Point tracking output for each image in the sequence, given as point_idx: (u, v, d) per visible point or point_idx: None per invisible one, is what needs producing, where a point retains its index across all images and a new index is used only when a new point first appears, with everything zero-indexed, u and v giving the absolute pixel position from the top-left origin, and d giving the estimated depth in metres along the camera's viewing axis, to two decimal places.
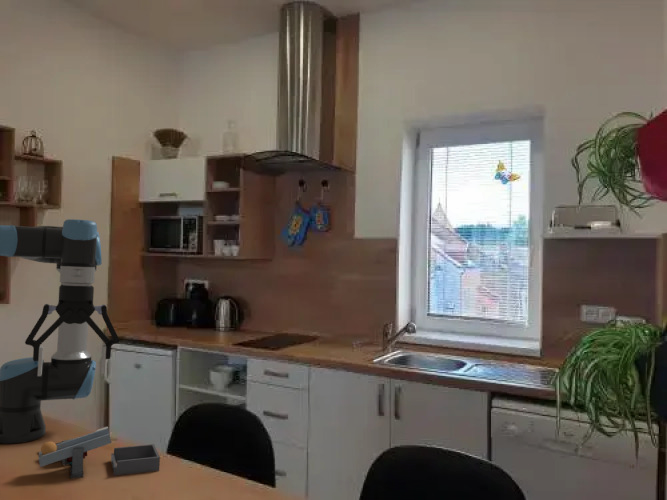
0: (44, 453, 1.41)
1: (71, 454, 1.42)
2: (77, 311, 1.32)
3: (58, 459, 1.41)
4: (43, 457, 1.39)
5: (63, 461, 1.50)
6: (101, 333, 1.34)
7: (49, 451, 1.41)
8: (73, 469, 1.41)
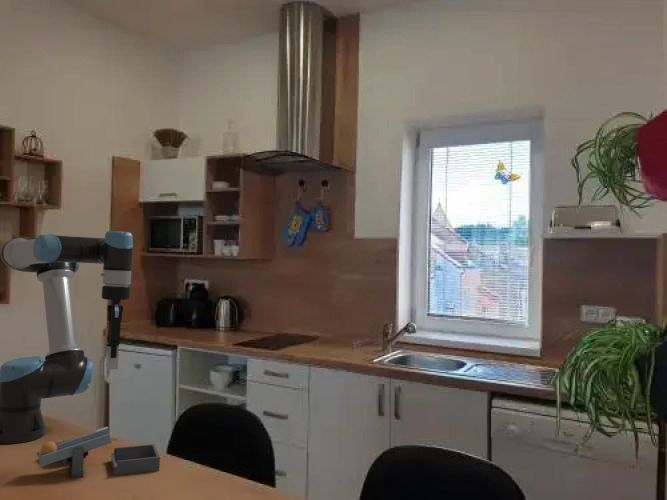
0: (44, 453, 1.41)
1: (71, 454, 1.42)
2: (111, 306, 1.58)
3: (58, 459, 1.41)
4: (43, 457, 1.39)
5: (64, 461, 1.50)
6: (109, 333, 1.56)
7: (49, 451, 1.41)
8: (73, 469, 1.41)
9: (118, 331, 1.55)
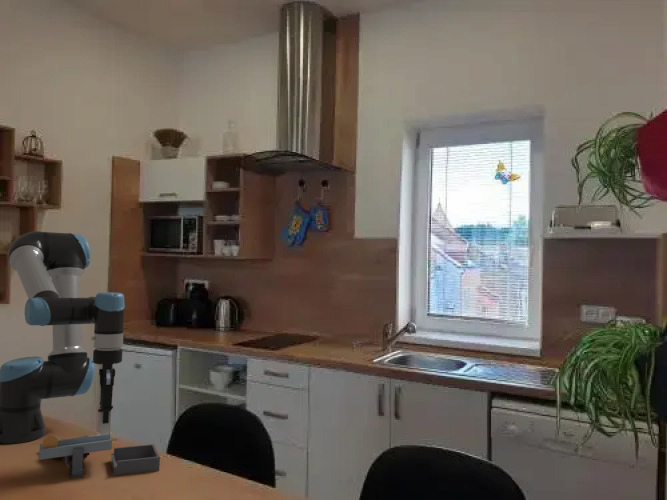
0: (45, 447, 1.41)
1: (71, 453, 1.42)
2: (102, 370, 1.54)
3: (57, 455, 1.41)
4: (44, 450, 1.39)
5: (66, 460, 1.50)
6: None
7: (51, 446, 1.41)
8: (73, 469, 1.41)
9: (110, 398, 1.51)
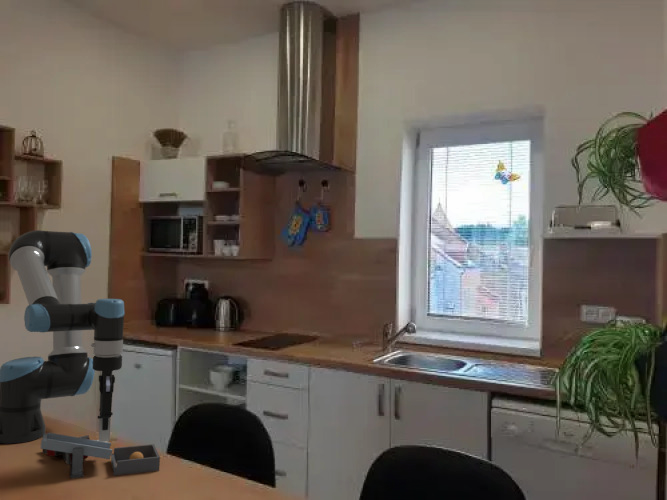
0: (133, 458, 1.50)
1: (71, 451, 1.42)
2: (102, 376, 1.54)
3: (58, 449, 1.41)
4: (48, 440, 1.40)
5: (67, 460, 1.50)
6: (101, 405, 1.53)
7: None
8: (73, 469, 1.41)
9: (109, 404, 1.51)
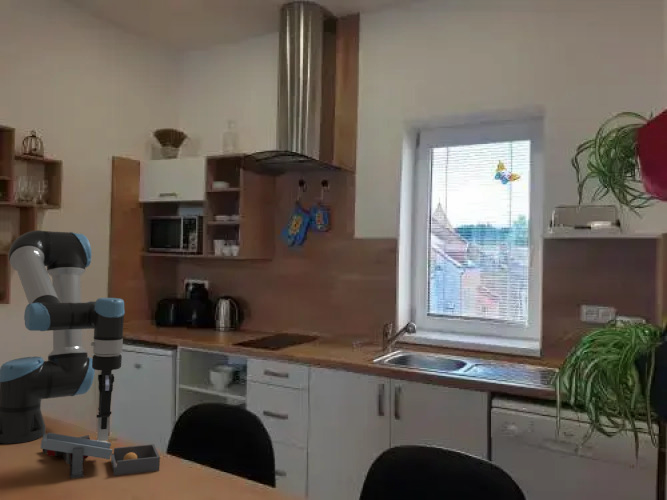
0: None
1: (71, 451, 1.42)
2: (101, 375, 1.54)
3: (58, 449, 1.41)
4: (48, 440, 1.40)
5: (67, 460, 1.50)
6: (100, 404, 1.53)
7: None
8: (73, 469, 1.41)
9: (108, 404, 1.51)
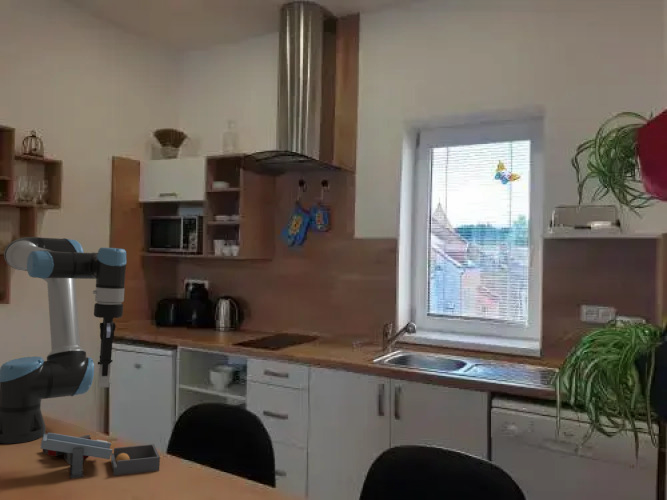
0: None
1: (71, 451, 1.42)
2: (103, 323, 1.56)
3: (58, 449, 1.41)
4: (48, 440, 1.40)
5: (68, 460, 1.51)
6: (101, 351, 1.55)
7: None
8: (73, 469, 1.41)
9: (109, 351, 1.53)
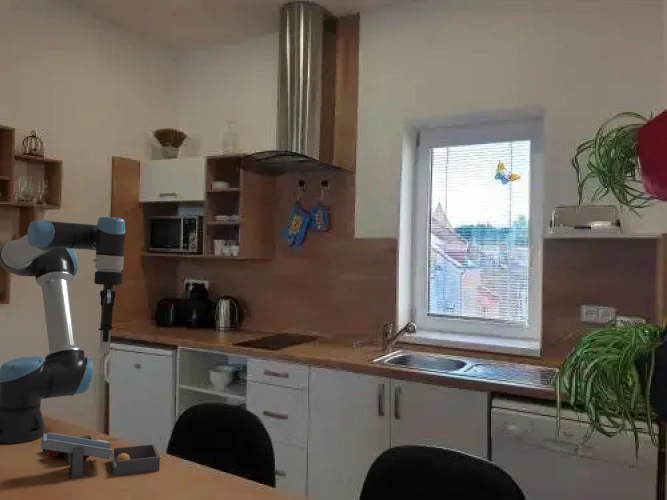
0: None
1: (71, 451, 1.42)
2: (103, 290, 1.60)
3: (58, 449, 1.41)
4: (48, 440, 1.40)
5: (69, 460, 1.51)
6: (102, 317, 1.59)
7: None
8: (73, 469, 1.41)
9: (110, 316, 1.58)
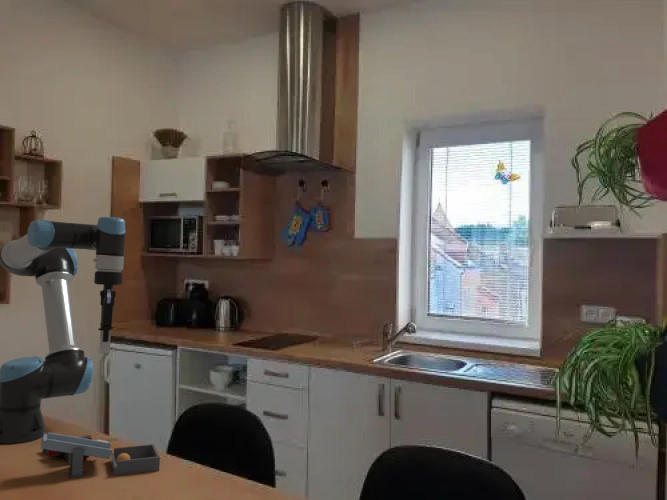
0: None
1: (71, 451, 1.42)
2: (103, 290, 1.60)
3: (58, 449, 1.41)
4: (48, 440, 1.40)
5: (70, 460, 1.51)
6: (102, 317, 1.59)
7: None
8: (73, 469, 1.41)
9: (110, 316, 1.58)
